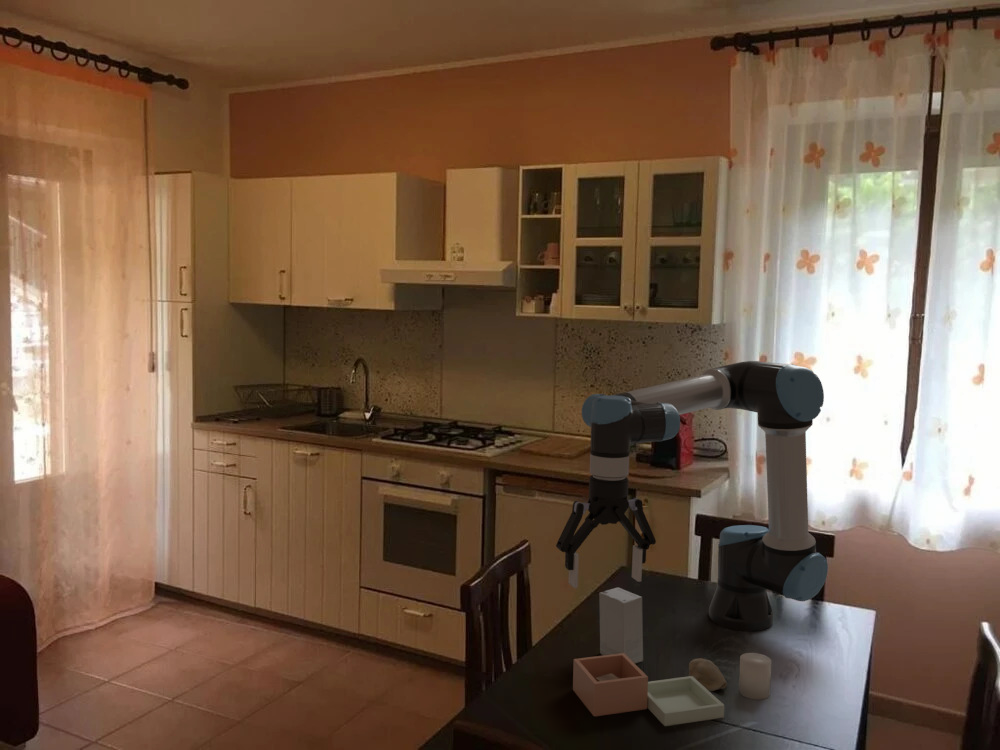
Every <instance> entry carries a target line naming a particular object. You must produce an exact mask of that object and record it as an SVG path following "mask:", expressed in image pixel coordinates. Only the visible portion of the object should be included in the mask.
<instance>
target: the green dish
mask: <svg viewBox="0 0 1000 750" xmlns="http://www.w3.org/2000/svg"><path fill="white" fill-rule="evenodd" d="M647 709H648V710H649V711H650V712H651V713H652V715H654V717H655V718H656V719H657V720H658V721H659V722H660V723H661V724H662V725H663V726H664V727H669V726H677V725H682V724H687V723H688V724H689V723H690V724H691V723H697V722H702V721H710V720H716V719H722V718H723V719H724V718H725V704H724V703H723V702H722V701H720V700H719V698H717V697H716V695H714V694H712V692H711V691H710V690H707V689H706V688H705V687H704V686H703V685H702V684H700V683H699V682H698V681H697V680H696V679H695V678H694V677H693V676H689V675H688V676H681V677H674V678H665V679H660V680H651V681H648V696H647Z"/></svg>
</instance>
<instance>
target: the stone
mask: <svg viewBox="0 0 1000 750" xmlns="http://www.w3.org/2000/svg"><path fill="white" fill-rule="evenodd" d="M688 671H689V674H688V676H693V677H694V678H695V679H696V680H697V681H698V682H699V683H700V684H702V685H703V686H704V687H705V688H706V689H707V690H708V691H709V692H714V691H717V690H723V689H725V688H727V685H728V683H727V681H726V678H725V677H724V675H723V673H722V671H721V670H720V668H719V667H718V666H717V664H716V665H715V663H714V662H713V661H711V660H709V659H704V658H702V657H701V658H699V657H698V658H694V659H692V660H691V661H690V662H689V663H688Z"/></svg>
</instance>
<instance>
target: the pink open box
mask: <svg viewBox="0 0 1000 750" xmlns="http://www.w3.org/2000/svg"><path fill="white" fill-rule="evenodd" d="M636 664H637V663H634V662H633V661H632V660H631V659H630V658H629V657H628V656H627V655H626V654H625V653H620V654H612V655H598V656H597V655H596V656H589V657H581V658H574V659H573V668H572V671H573V672H572V673H573V674H572V675H573V676H572V691H573V692H574V693H575V694H576V696H577V697H578V698H579V700H580V701H581V702H582V704H583V705H584V706H585V708H586V709H588V711H589V712H590V713H591V714H592V716H593V717H595V718H596V717H600V716H609V715H613V714H623V713H628V712H635V711H645V710H647V709H648V708H647V696H648V682H649V676H648V675H646V673H645V672H644V671H643V670H642V669H640V667H639V666H638V665H636ZM610 673H612V674H613V675H615V676H617V677H618V678H620V679H614V680H606V681H598V682H597V681H596V680H595V678H597V677H600V676H603V675H607V674H610Z"/></svg>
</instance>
